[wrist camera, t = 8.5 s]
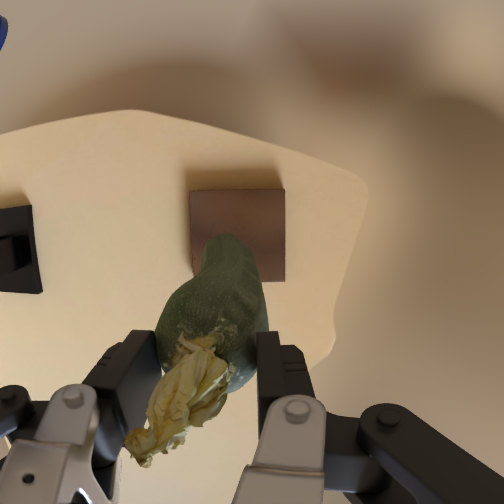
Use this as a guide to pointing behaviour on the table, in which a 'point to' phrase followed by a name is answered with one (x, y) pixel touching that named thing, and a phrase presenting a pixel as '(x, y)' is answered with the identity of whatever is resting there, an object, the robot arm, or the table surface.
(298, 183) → the table surface
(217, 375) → the vegetable
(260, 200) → the board
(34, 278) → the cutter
